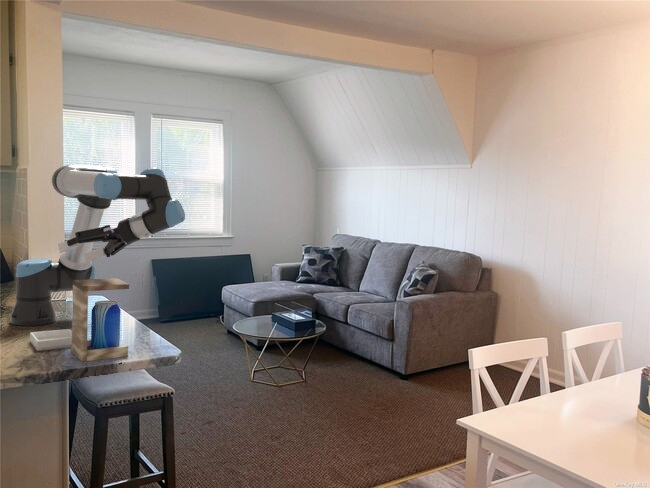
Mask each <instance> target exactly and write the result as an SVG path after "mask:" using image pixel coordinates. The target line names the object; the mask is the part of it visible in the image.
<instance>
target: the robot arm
mask: <svg viewBox="0 0 650 488" xmlns="http://www.w3.org/2000/svg"><path fill="white" fill-rule="evenodd" d="M51 185H52V187H53V189H54V190H55V192H56V193H58V194H59V195H61V196H64V197H67V198H70V199H71V198H72V199H76V200H77V202H78V203H79V204H78V208H77V211H76V215H75V217H74V218H75V219H74V220H73V226H72V229H71V231H70V236H69V239H67V240H65V241H62V242H60V243H57V247H58V251H59V253H61V254H60V256H59V259H58V261H52V259H51V258H48V257H42V258H41V257H39V258H38V257H37V258H30V259H26V260H22V261H21V262H18V263H17V266H16V273H15V281H16V282H15V303H14V306H13V309H12V312H11V314H10V320H9V321H10V324H11V325H15V326H23V327H26V326H27V327H29V326H30V327H31V326H32V327H34V326H43V325H44V326H45V325H50V324H52V323H55V322H56V321H57V312H56V311H55V307H54V305H53V303H52V293H63V292H71V291H72V292H73V280H90V279H95V272H96V269H95V266H94V263H93V262H92V261H95V260H97V259H98V258H99V259H100V258H102V257H104V256H106V258H110V257H111V256H115V255H117V254H118V253H119V252H120V251H122V250H124V248H126V247H127V246H129V245H132V243H133V244H134V243H136V242H137V241H140V239H142V240H143V239H145V238H147V239H149V237H151V236H152V235H155V234H157V233H159V232H162V231H165V230H168V229H171V228H174V227H175V226H177V225H179V224H180V223H183V222H185V220H186V213H185V210H184V207H183V205H182V204H181V202H180V201H179V200H178V199H176V198H174V199H173V198H172V196H171V192H170V189H169V185H168V180H167V178H166V175H165V174H164V171H163V170H162V169H160V168H158V167H151V168H146V169H144V170H142V172H141V173H140V174H127V173H118V171H117V170H116V169H115V168H112V167H105V166H96V165H95V166H94V165H84V164H83V165H81V164H67V165H63V166H60V167H58V168H57V169H55V171H54V172H53V174H52V178H51ZM116 200H132V201H133V200H136V201H138V200H139V201H145V202H146V205H147V207H148V208H147V209H146V210H145V211H141V212H139V213H136V214H135V215H131V217H127V218H124V219H122V220H119V222H118V223H117V226H116V227H114V228H113V227H112V228H111V225H110V224H107V225H104V226H100V225H101V221H102V217H103V214H104V212H105V210H108V209H109V208H110V207H111V204H112V202H113V201H116ZM95 242H102V243H105V242H106V243H107V244H106V245H105V246H104V247H103V246H101V247H98V248H97V249H94V250H93V247H94V245H95Z"/></svg>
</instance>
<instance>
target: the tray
mask: <svg viewBox="0 0 650 488" xmlns="http://www.w3.org/2000/svg"><path fill="white" fill-rule="evenodd" d="M29 343H31V345H32V346H33V347H34V348H35V350H36V351H48V350H57V349H66V348H67V349H68V348H72V328H66V329H65V328H64V329H53V330H41V331H33V332H32V331H31V332H30V333H29Z"/></svg>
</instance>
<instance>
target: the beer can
mask: <svg viewBox="0 0 650 488" xmlns="http://www.w3.org/2000/svg"><path fill="white" fill-rule="evenodd" d="M90 317H91V320H90V321H91V324H90V325H91V327H90V328H91V329H90V339H91V349H90V350H94V349H103V348H111V347H120V346H121V345H120V341H121V339H120V338H121V308H120V306H119V304H118V301H115V300H98V301H95V302H94V306H92V309H91V316H90Z"/></svg>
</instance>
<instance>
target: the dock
mask: <svg viewBox="0 0 650 488" xmlns="http://www.w3.org/2000/svg"><path fill="white" fill-rule="evenodd" d="M129 289H130V284H129V283H128V282H125V281H124V280H121V279H120V278H119V277H117V278H115V277H113V278H97V279H96V278H94V279H90V280H73V291H72V304H71V305H72V312H71V313H72V314H71V316H72V318H71V330H72V347H71V352H72V353H73V354H74V355H75V356H76V357H77V359H79V361H81V362H89V361H90V362H91V361H97V360H107V359H115V358H121V357H128V356H129V346H128V345H120V347H111V348H103V349H94V350H91V338H89V339H88V318H89V317H88V316H89V315H88V314H89V313H88V312H89V311H88V310H89V292H98V291H99V292H100V291H116V290H129Z"/></svg>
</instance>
